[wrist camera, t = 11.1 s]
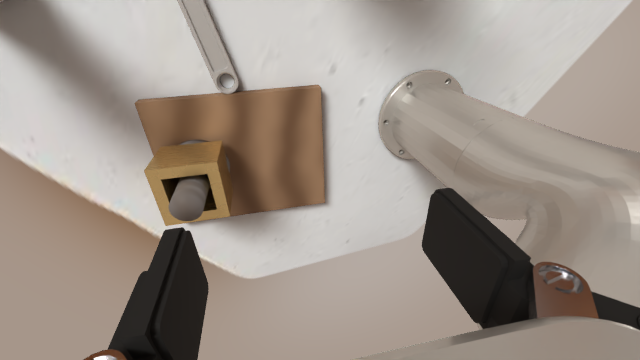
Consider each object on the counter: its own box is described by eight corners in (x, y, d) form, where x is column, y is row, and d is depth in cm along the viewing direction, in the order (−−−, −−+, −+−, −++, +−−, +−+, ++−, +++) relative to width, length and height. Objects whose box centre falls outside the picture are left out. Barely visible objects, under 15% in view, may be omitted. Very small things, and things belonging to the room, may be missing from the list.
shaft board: (318, 84, 36) (341, 109, 27) (322, 197, 45) (341, 245, 36) (139, 99, 33) (94, 133, 24) (180, 217, 42) (159, 276, 32)
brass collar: (222, 140, 35) (216, 162, 30) (233, 189, 38) (230, 216, 33) (160, 147, 34) (144, 170, 29) (177, 196, 37) (165, 225, 32)
